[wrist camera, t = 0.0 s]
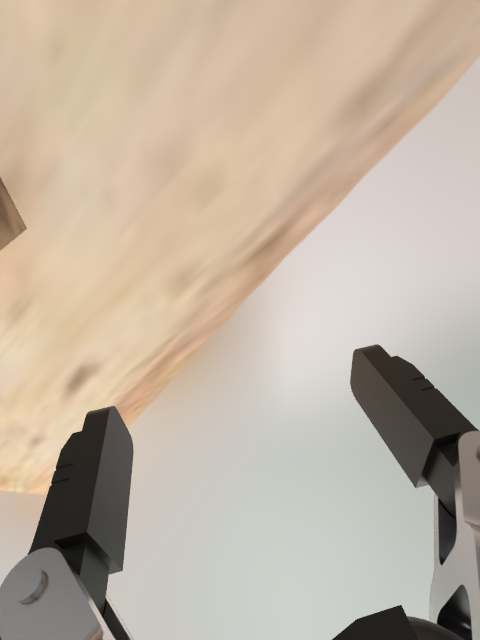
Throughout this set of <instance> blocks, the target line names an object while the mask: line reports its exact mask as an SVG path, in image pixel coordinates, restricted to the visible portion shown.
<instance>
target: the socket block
mask: <svg viewBox="0 0 480 640" xmlns="http://www.w3.org/2000/svg"><path fill="white" fill-rule="evenodd" d="M26 229H27V228H26V226H25V224H24V222H23V221H22V219H21V217H20V215H19V213H18V211H17V209H16V207H15V205H14V203H13V201H12V199H11V197H10V195H9V194H8V192H7V190H6V188H5V186H4V184H3V182H2V180H1V178H0V250H2V249H3V248H4V247H5V246H6V245H8V244H9V243H10V242H11V241H12V240H14V239H15V238H16V237H17V236H18V235H20V234H21V233H22V232H23V231H24V230H26Z"/></svg>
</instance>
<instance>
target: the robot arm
mask: <svg viewBox="0 0 480 640" xmlns="http://www.w3.org/2000/svg"><path fill="white" fill-rule="evenodd" d="M350 383H351V389H352V392H353V395H354V396H355V398H356V400H357V401H358V403H359V404H360V406H361V408H362V409H363V411H364V412H365V413H366V415H367V416H368V418H369V419H370V421H371V422H372V424H373V425H374V427H375V428H376V430H377V431H378V433H379V434H380V436H381V437H382V439H383V440H384V442H385V443H386V445H387V446H388V448H389V449H390V451H391V452H392V454H393V455H394V457H395V458H396V460H397V461H398V463H399V464H400V465H401V467H402V469H403V470H404V471H405V473H406V474H407V476H408V477H409V479H410V480H411V482H412V483H413V485H414V486H415V488H418V487H422V486H425V485H430V486H431V488H432V489H433V491H434V492H435V496H434V574H433V580H432V584H431V592H430V621H427V620H424V619H419V618H415V617H409V616H406V614H405V612H404V610H403V608H402V606H401V605H400V606H396V607H393V608H390V609H387V610H384V611H381V612H378V613H374V614H372V615H368V616H365V617H362V618H359V619H357V620H355V621H354V622H353V623H352V624H350V625H349V626H348V627H347V628H346V629H344V630H343V631H342V632H341V633H340V634H338V635H337V636H336V637H335V638H333V639H332V640H480V431H479V430H478V429H476V428H475V427H474V426H473V425H472V424H471V423H470V422H469V421H468V420H467V419H466V418H465V417H464V416H463V415H462V414H461V413H460V412H459V411H458V410H457V409H456V408H455V407H454V406H453V405H452V404H451V403H450V402H449V401H448V400H447V399H446V398H445V397H444V395H443V394H442V393H441V392H440V391H439V390H438V389H435V388H434V386H433V384H431V382H430V381H429V380H427V379H425V377H424V375H423V374H422V373H421V372H420V371H419V370H417V368H416V367H415V366H414V365H412V364H411V363H409V362H407V361H405V360H403V359H402V358H400V357H398V356H394V357H390V355H389V354H388V353H387V352H386V351H385V350H384V349H383V348H382V347H381V346H380V345H373V346H368V347H364V348H359V349H356V350H354V353H353V361H352V370H351V381H350ZM132 462H133V442H132V438H131V435H130V434H129V431H128V429H127V427H126V426H125V424H124V422H123V420H122V418H121V416H120V414H119V412H118V410H117V409H116V407H114V406H111V407H107V408H103V409H99V410H94V411H90V412H88V413H87V415H86V418H85V421H84V425H83V429H82V431H80V432H76V433H73V434H72V435H71V437H70V438H69V440H68V441H67V442H66V444H65V445H64V447H63V448H62V450H61V452H60V456H59V459H58V462H57V465H56V471H55V472H54V475H53V478H52V482H51V483H52V485H51V486H50V488H49V491H48V494H47V498H46V501H45V504H44V508H43V511H42V514H41V517H40V521H39V524H38V527H37V530H36V533H35V537H34V540H33V543H32V546H31V549H30V551H29V553H28V555H27V556H26V557H24V558H23V559H22V560H21V561H20V562H19V563H18V564H17V565H16V566H15V567H14V568H13V569H12V570H11V571H10V572H9V574H8V575H7V577H6V578H5V580H4V581H3V583H2V585H1V587H0V640H134V638H133V637H132V635H131V633H130V632H129V630H128V628H127V627H126V625H125V624H124V622H123V620H122V618H121V617H120V615H119V613H118V612H117V610H116V609H115V607H114V605H113V604H112V602H111V600H110V599H109V597H108V595H107V594H106V590H107V582H108V575H109V574H113V573H116V572H120V571H122V570H123V560H124V549H125V539H126V528H127V516H128V505H129V495H130V484H131V473H132Z"/></svg>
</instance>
